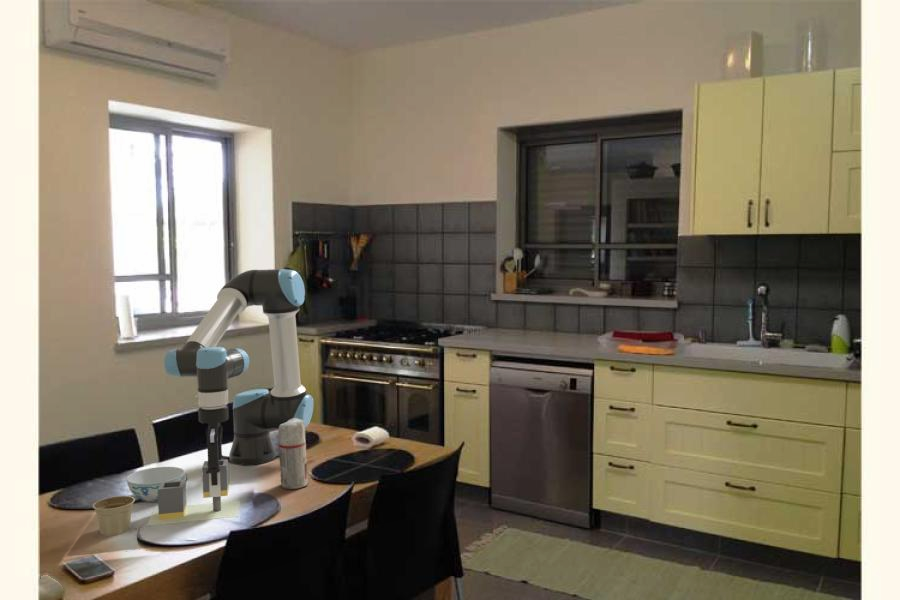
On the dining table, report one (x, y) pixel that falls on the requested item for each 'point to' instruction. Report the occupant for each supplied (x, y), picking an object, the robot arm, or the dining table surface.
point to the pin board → (201, 512)
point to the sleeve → (223, 478)
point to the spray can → (293, 454)
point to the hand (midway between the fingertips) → (216, 492)
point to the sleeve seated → (172, 499)
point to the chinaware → (152, 481)
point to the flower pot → (114, 514)
